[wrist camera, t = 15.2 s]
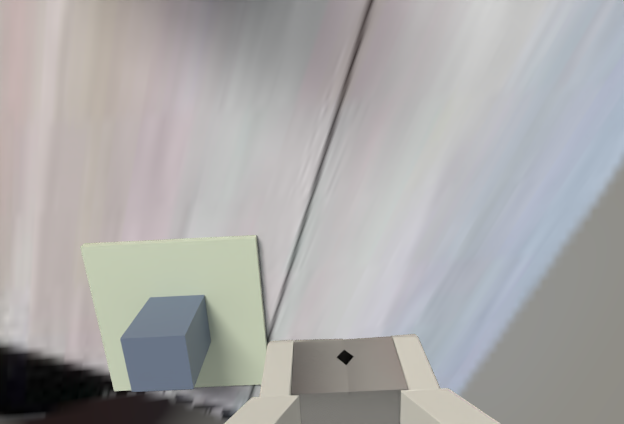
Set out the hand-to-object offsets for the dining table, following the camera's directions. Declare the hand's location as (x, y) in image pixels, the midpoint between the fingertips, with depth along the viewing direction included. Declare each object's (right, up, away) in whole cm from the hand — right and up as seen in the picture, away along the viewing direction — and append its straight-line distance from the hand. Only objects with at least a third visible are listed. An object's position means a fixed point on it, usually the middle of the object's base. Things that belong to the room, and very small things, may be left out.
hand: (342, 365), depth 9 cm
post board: (-13, -7, +33) cm, 36 cm away
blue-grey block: (-13, -7, +32) cm, 35 cm away
